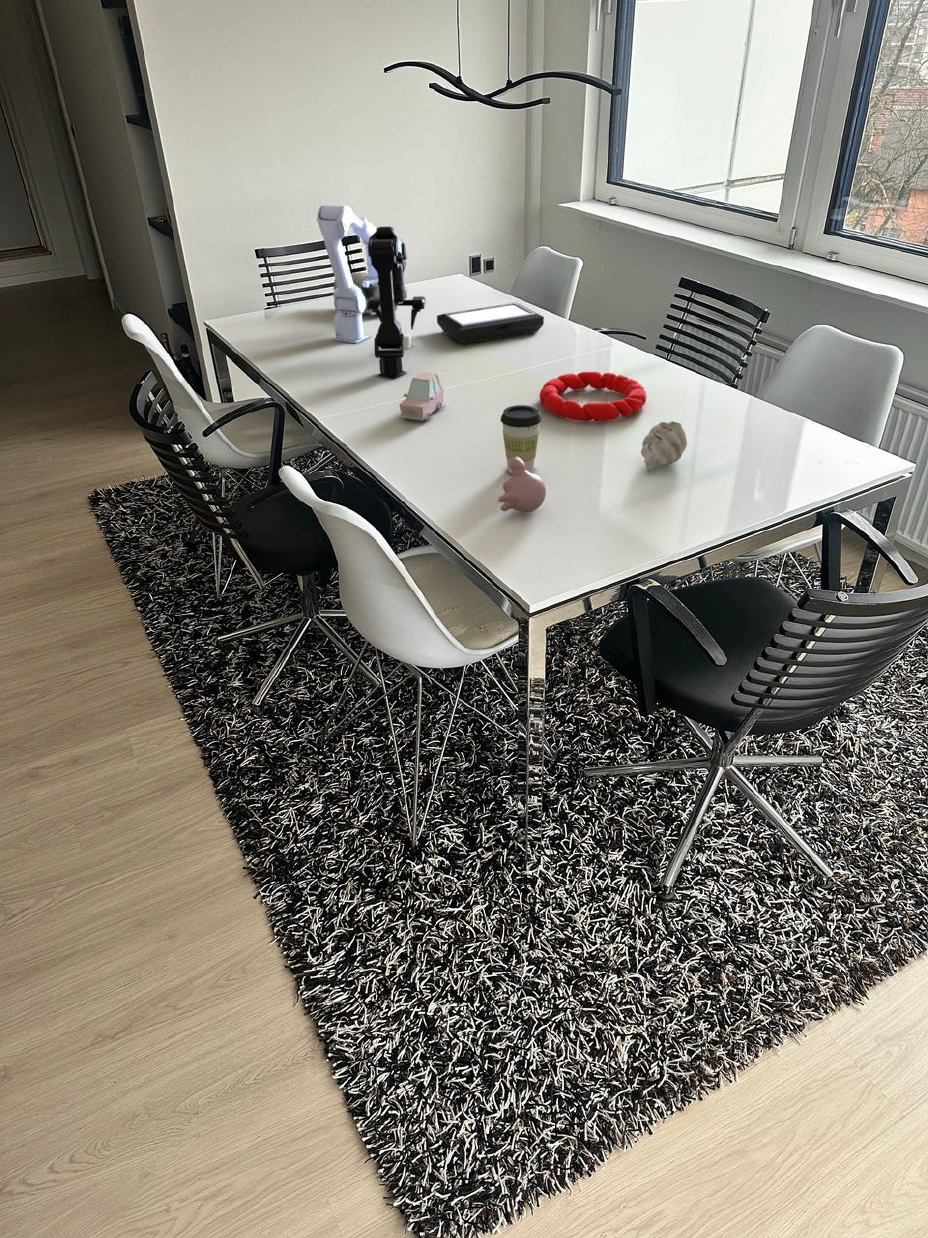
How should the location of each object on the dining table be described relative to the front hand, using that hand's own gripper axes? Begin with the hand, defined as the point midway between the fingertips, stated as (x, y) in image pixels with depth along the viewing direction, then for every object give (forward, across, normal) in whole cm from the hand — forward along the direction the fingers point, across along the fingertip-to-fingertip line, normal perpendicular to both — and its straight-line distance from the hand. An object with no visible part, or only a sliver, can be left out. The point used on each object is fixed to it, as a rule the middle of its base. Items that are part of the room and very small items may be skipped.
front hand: (398, 329), depth 297 cm
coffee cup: (+8, -45, +94) cm, 104 cm away
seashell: (+8, -79, +89) cm, 120 cm away
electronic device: (+6, -29, -19) cm, 35 cm away
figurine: (+8, -46, +116) cm, 125 cm away
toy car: (+7, -15, +58) cm, 60 cm away
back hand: (-1, +12, -29) cm, 31 cm away
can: (+7, -1, -2) cm, 7 cm away
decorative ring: (+7, -63, +50) cm, 81 cm away
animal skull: (+6, +20, -46) cm, 51 cm away
